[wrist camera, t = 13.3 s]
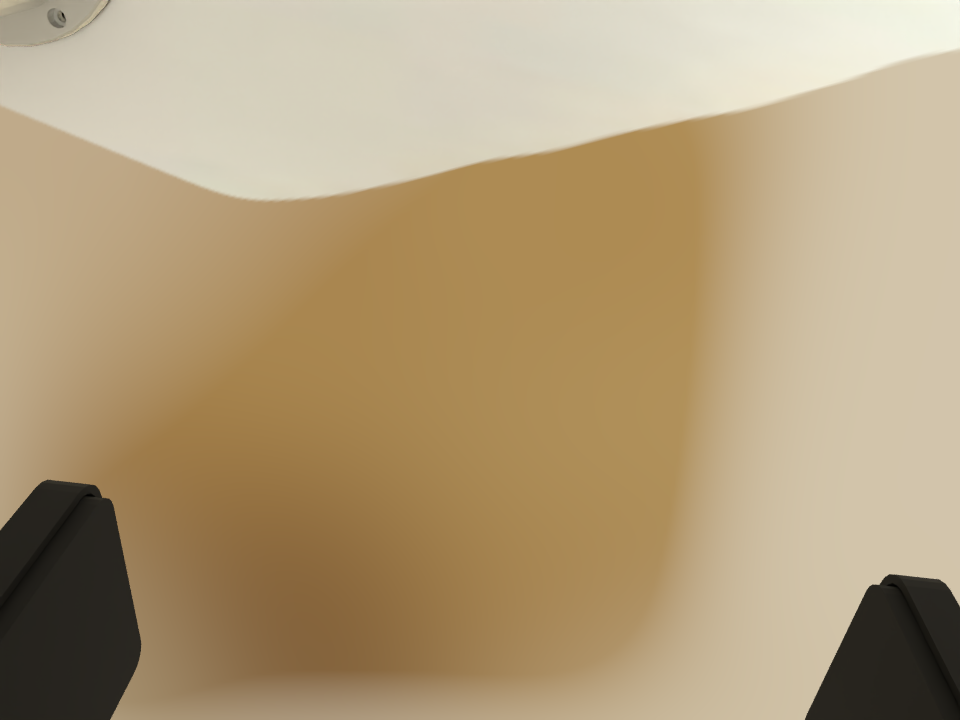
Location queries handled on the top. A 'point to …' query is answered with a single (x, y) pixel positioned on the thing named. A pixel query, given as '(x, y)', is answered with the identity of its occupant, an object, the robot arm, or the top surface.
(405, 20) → the top surface
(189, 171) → the top surface
